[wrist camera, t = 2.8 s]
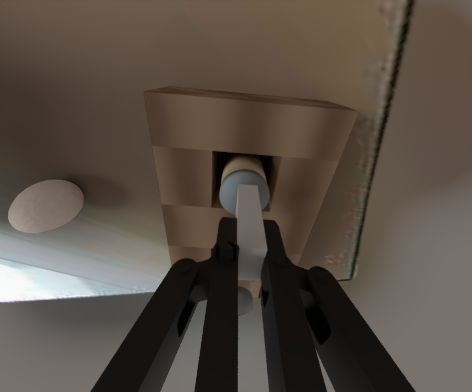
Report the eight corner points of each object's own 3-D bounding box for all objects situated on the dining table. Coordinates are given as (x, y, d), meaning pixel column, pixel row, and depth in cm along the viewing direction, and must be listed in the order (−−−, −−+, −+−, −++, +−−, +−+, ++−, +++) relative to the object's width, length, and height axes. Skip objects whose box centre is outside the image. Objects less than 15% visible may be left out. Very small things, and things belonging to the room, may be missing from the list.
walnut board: (185, 259, 33) (175, 292, 28) (169, 86, 19) (143, 91, 14) (277, 264, 33) (283, 299, 28) (327, 101, 19) (359, 111, 14)
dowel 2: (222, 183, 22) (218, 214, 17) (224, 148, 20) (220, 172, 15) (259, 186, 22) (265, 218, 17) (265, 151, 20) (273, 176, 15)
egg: (96, 209, 27) (52, 251, 21) (55, 199, 26) (-5, 239, 20) (93, 177, 24) (41, 214, 18) (47, 164, 24) (-25, 199, 17)
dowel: (217, 270, 26) (213, 314, 21) (218, 249, 24) (213, 293, 19) (248, 272, 26) (250, 317, 21) (252, 251, 24) (255, 296, 19)
